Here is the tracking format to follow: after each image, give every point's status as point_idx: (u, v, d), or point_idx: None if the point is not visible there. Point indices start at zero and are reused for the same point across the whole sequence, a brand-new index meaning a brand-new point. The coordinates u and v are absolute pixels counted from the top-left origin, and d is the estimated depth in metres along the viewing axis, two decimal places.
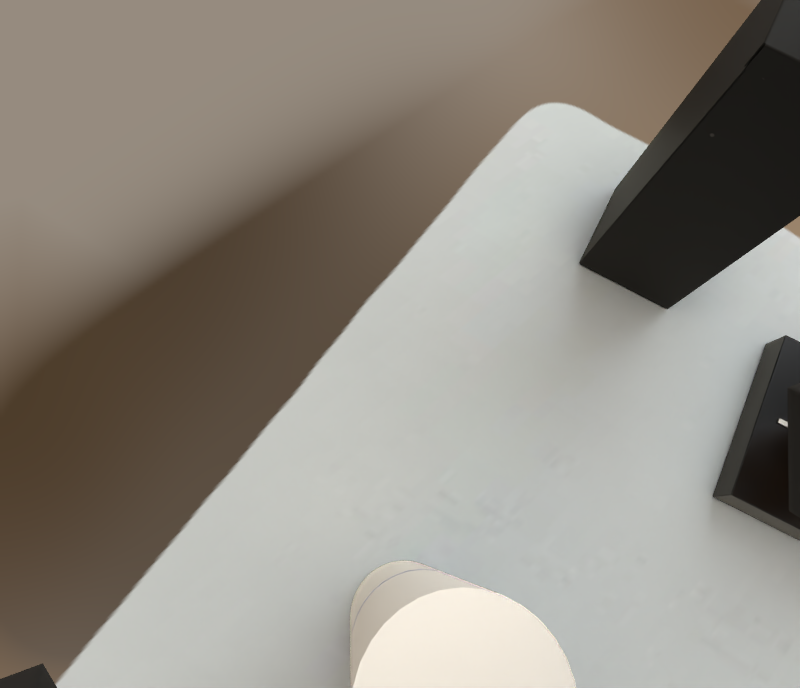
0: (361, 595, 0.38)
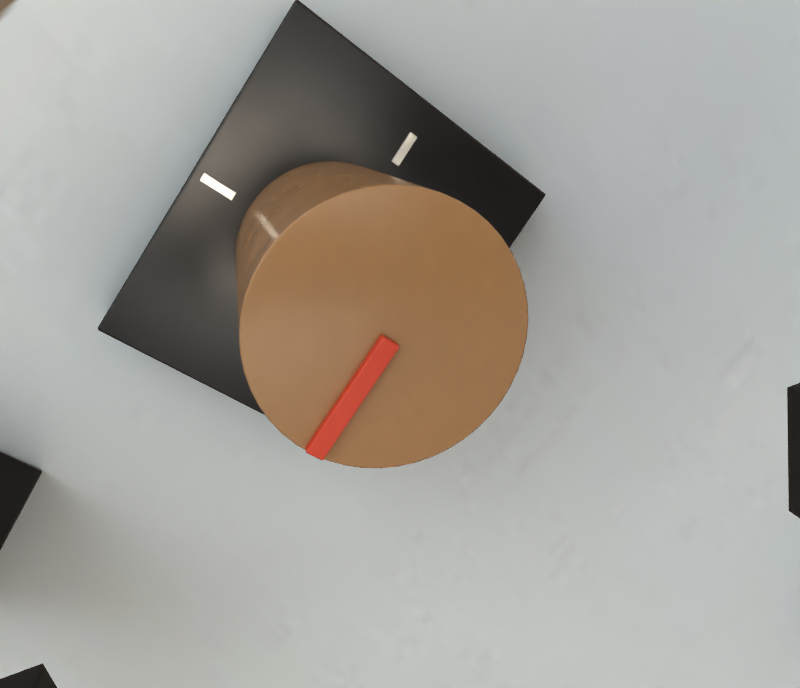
0: None
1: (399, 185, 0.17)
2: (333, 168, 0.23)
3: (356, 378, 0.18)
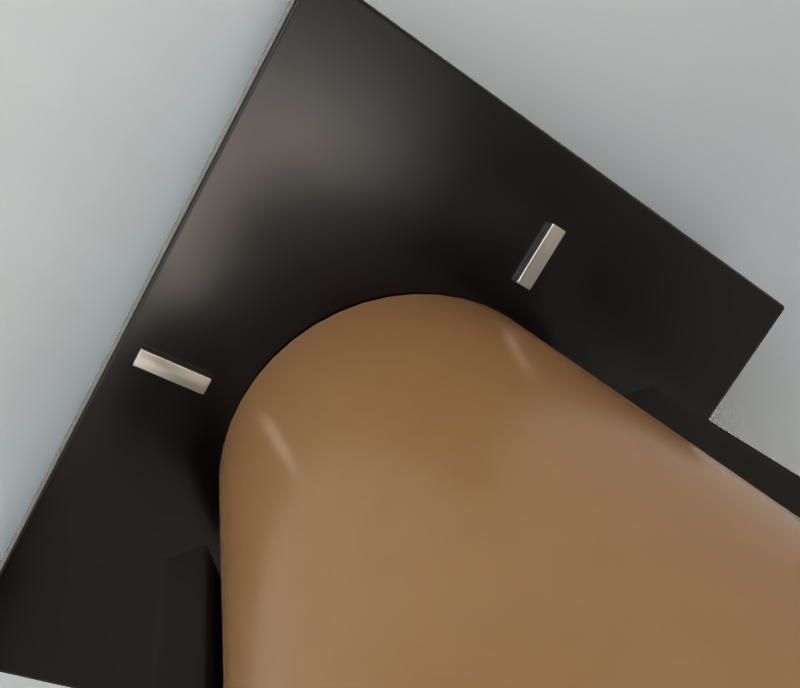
0: None
1: None
2: (438, 371, 0.10)
3: None
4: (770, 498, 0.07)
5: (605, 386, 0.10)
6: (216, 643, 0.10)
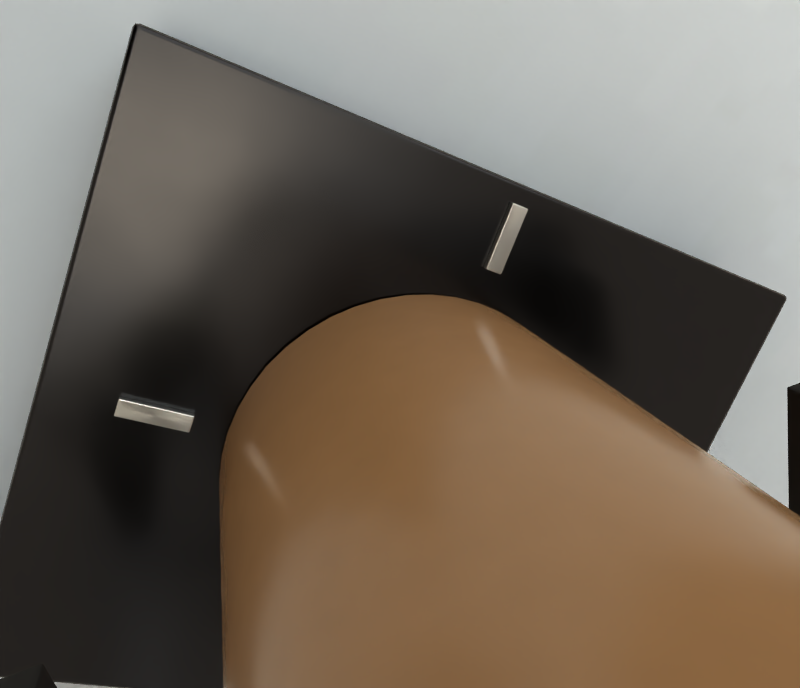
0: None
1: None
2: (394, 388, 0.09)
3: None
4: (733, 484, 0.07)
5: (572, 374, 0.10)
6: None
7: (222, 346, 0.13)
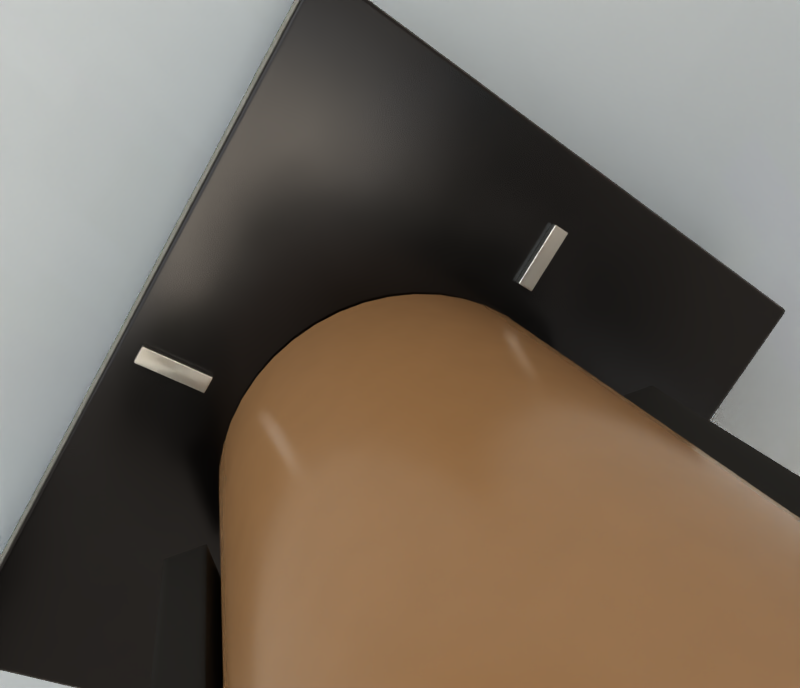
0: None
1: None
2: None
3: None
4: None
5: (249, 525, 0.09)
6: (216, 643, 0.10)
7: None
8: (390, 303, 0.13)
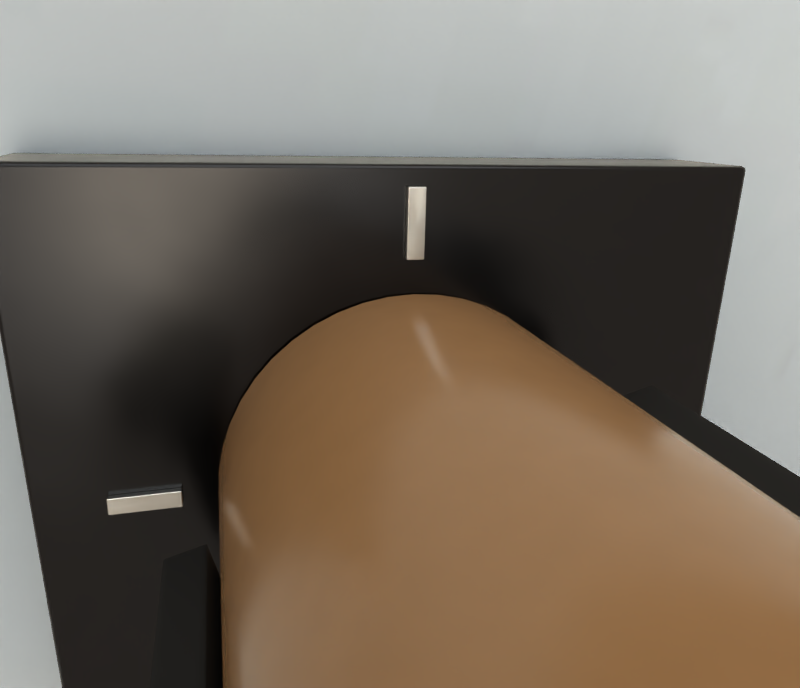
0: None
1: None
2: None
3: None
4: None
5: (248, 527, 0.09)
6: (216, 643, 0.10)
7: (181, 421, 0.13)
8: (389, 303, 0.13)
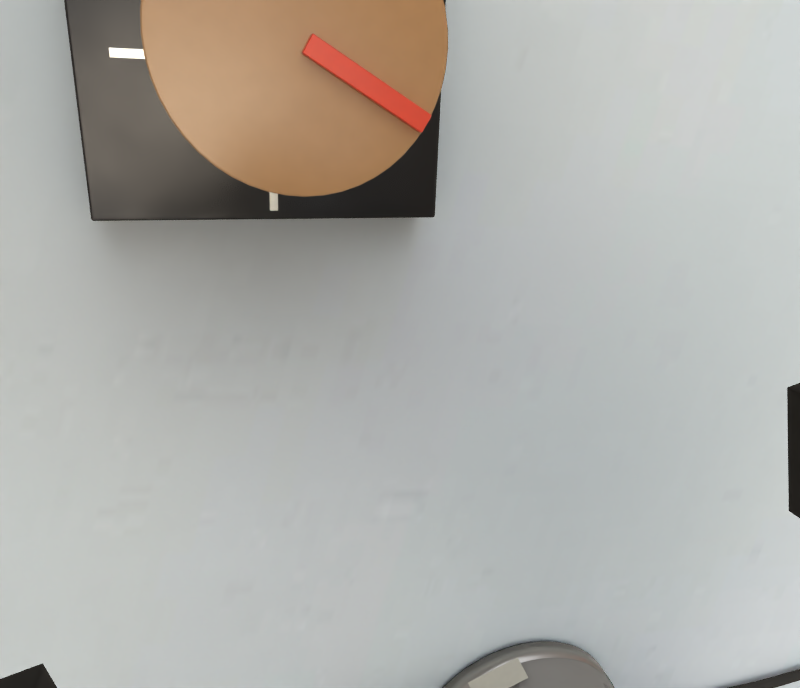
0: None
1: (142, 37, 0.17)
2: None
3: (347, 81, 0.18)
4: None
5: None
6: None
7: None
8: None
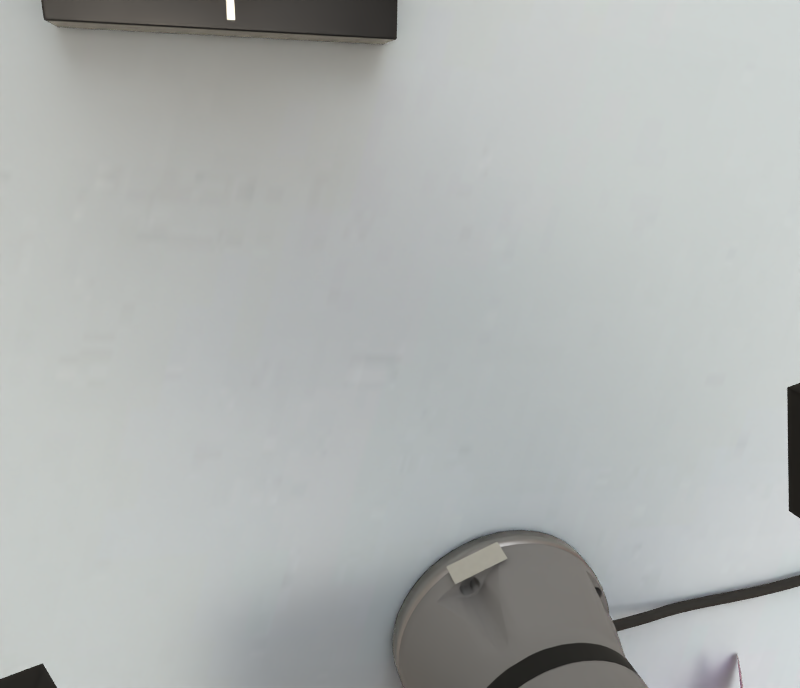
0: None
1: None
2: None
3: None
4: None
5: None
6: None
7: None
8: None
